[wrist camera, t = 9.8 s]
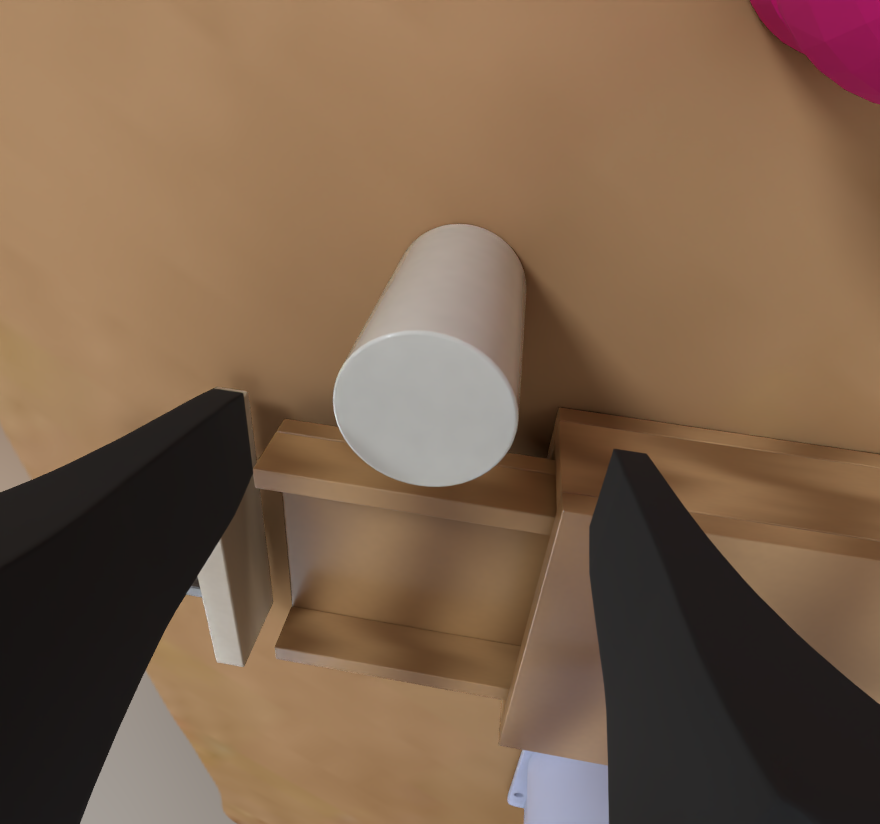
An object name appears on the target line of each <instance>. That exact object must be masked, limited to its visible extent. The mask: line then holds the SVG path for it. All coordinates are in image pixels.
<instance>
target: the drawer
mask: <svg viewBox="0 0 880 824" xmlns="http://www.w3.org/2000/svg"><path fill="white" fill-rule="evenodd" d="M215 389H221V390H228V391H235V392H241V393H244V401H245V409H246V418H247V426H248V434H249V442H250V450H251V458H252V466H253V475H252V477H251V480H250V482H249V484H248V487H247V489H246V491H245V494H244V496H243V498H242V501H241V503H240V505H239V507H238V509H237V511H236V514H235V516H234V517H233V519H232V521H231V522H230V524H229V526H228V527H227V529H226V531H225V532H224V534H223V536H222V537H221V539H220V541H219V542H218V544H217V545H216V547H215V549H214V550H213V552H212V554H211V555H210V557H209V558H208V560H207V562H206V563H205V565H204V566H203V568H202V570H201V571H200V573H199V574H198V576H197V578H196V579H195V581H194V582H193V584H192V586H191V587H190V589H189V590H188V592H187V594H186V595H191V596H197V597H202V599H203V603H204V608H205V612H206V617H207V621H208V626H209V630H210V635H211V639H212V644H213V648H214V653H215V657H216V661H217V662H219V663H224V664H230V665H235V666H241V667H244V666H245V664H246V662H247V659H248V657H249V655H250V653H251V650H252V648H253V646H254V644H255V642H256V639H257V637H258V635H259V633H260V630H261V628H262V626H263V624H264V622H265V619H266V617H267V615H268V613H269V610H270V608H271V606H272V604H273V595H272V587H271V579H270V570H269V562H268V553H267V545H266V536H265V528H264V520H263V511H262V503H261V494H260V489H266V490H272V491H278V492H282V497H283V508H284V519H285V530H286V541H287V552H288V563H289V574H290V585H291V596H292V607H291V609H290V612H289V614H288V617H287V619H286V621H285V624H284V626H283V629H282V631H281V633H280V636H279V638H278V641H277V643H276V645H275V653H276V659H281V660H286V661H292V662H297V663H303V664H308V665H314V666H319V667H325V668H330V669H336V670H341V671H347V672H352V673H358V674H363V675H369V676H374V677H380V678H385V679H391V680H396V681H402V682H407V683H413V684H418V685H424V686H429V687H435V688H441V689H446V690H452V691H457V692H463V693H468V694H474V695H479V696H485V697H490V698H496V699H501V700H507V697H508V693H509V689H510V685H511V682H512V678H513V674H514V670H515V667H516V663H517V659H518V655H519V652H520V648H521V644H522V640H523V636H524V633H525V629H526V625H527V621H528V618H529V614H530V610H531V606H532V603H533V599H534V595H535V591H536V588H537V584H538V580H539V576H540V573H541V569H542V565H543V561H544V558H545V554H546V550H547V546H548V543H549V539H550V535H551V531H552V528H553V524H554V520H555V516H556V513H557V503H556V465H555V460H552V459H546V458H539V457H533V456H526V455H520V454H513V453H507V454H506V455H505V456H504V457H503V459H502V460H501V461H500V462H499V463H498V464H497V465H496V466H495V467H493V468H492V469H491V470H490V471H488V472H487V473H485V474H483V475H482V476H480V477H478V478H476V479H473V480H471V481H468V482H465V483H462V484H457V485H453V486H444V487H426V486H418V485H413V484H408V483H405V482H401V481H398V480H395V479H393V478H391V477H388V476H386V475H384V474H382V473H381V472H379V471H377V470H375V469H374V468H372V467H371V466H369V465H368V464H367V463H366V462H364V461H363V460H362V459H361V458H360V457H359V456H358V455H357V454H356V453H355V452H354V451H353V450H352V449H351V447H350V446H349V445H348V443H347V442H346V441H345V439H344V437H343V435H342V434H341V432H340V429H339V427H336V426H330V425H323V424H317V423H310V422H304V421H297V420H291V419H284V420H283V422H282V423H281V425H280V427H279V428H278V430H277V432H276V433H275V434H274V436H273V437H272V439H271V441H270V442H269V444H268V445H267V447H266V449H265V450H264V452H263V453H262V455H261V457H260V458H259V460H258V461H256V452H255V444H254V435H253V427H252V418H251V410H250V402H249V393H248V391H243V390H237V389H230V388H223V387H215Z"/></svg>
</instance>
